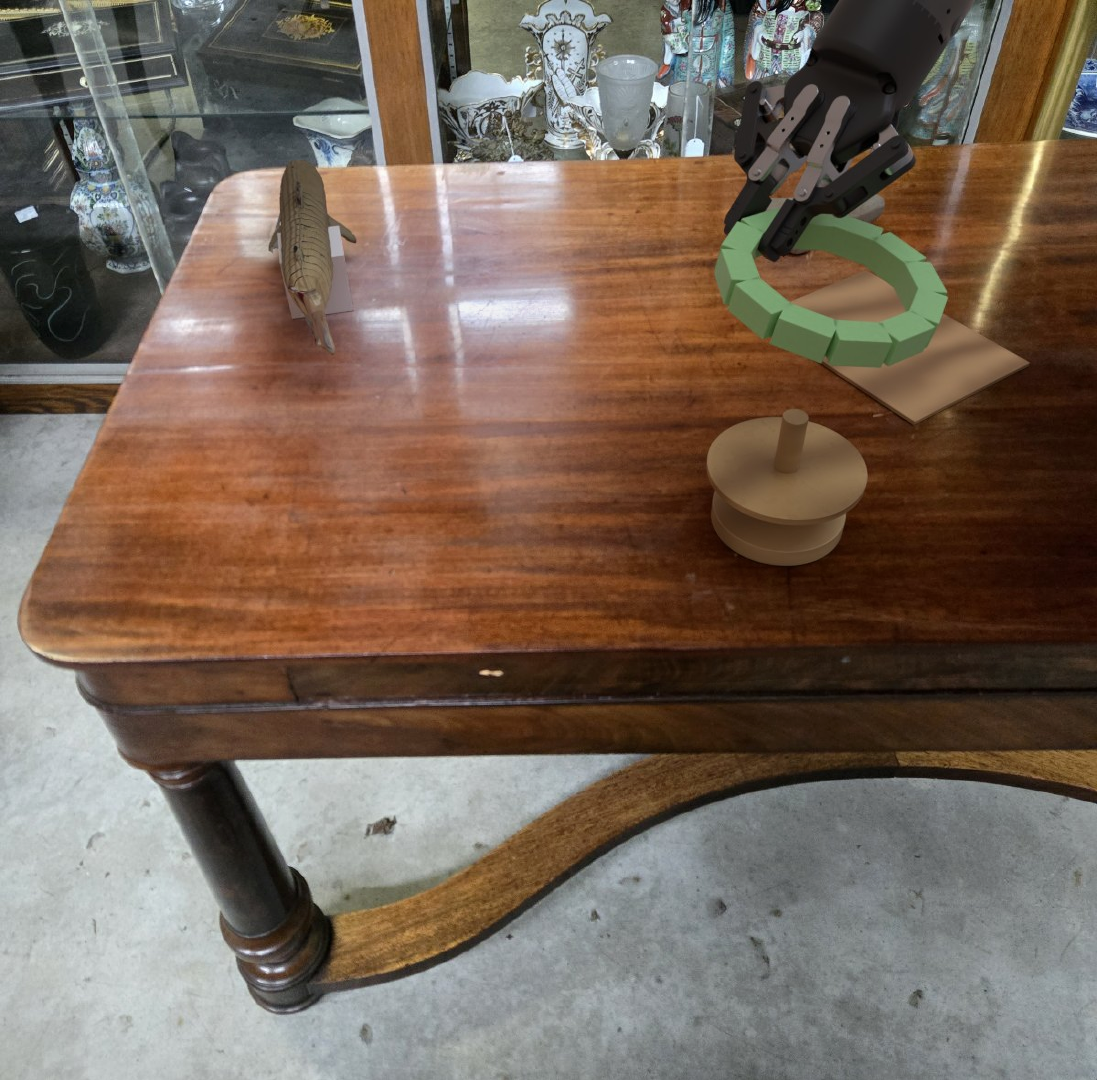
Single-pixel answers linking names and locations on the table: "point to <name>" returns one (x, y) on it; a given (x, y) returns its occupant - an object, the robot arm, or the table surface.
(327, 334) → the wood carving
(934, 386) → the mat
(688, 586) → the table surface
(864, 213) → the sculpture
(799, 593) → the table surface
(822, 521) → the stand
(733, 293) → the ring
